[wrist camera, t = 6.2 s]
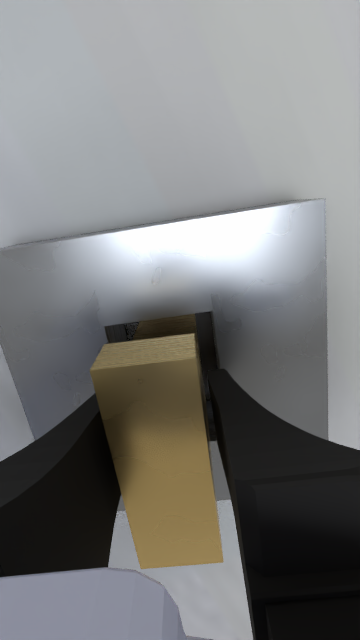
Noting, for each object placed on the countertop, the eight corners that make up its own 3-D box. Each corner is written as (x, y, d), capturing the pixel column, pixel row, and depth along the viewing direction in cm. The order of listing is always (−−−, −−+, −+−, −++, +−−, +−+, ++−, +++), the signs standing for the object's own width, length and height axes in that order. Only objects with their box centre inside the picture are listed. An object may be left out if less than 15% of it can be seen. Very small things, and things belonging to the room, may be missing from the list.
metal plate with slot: (81, 468, 18) (62, 516, 15) (11, 245, 14) (-32, 255, 11) (305, 442, 17) (328, 488, 14) (295, 200, 13) (325, 198, 11)
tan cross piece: (159, 416, 17) (140, 569, 10) (135, 289, 15) (89, 370, 8) (207, 411, 17) (223, 562, 10) (190, 282, 15) (195, 357, 8)
